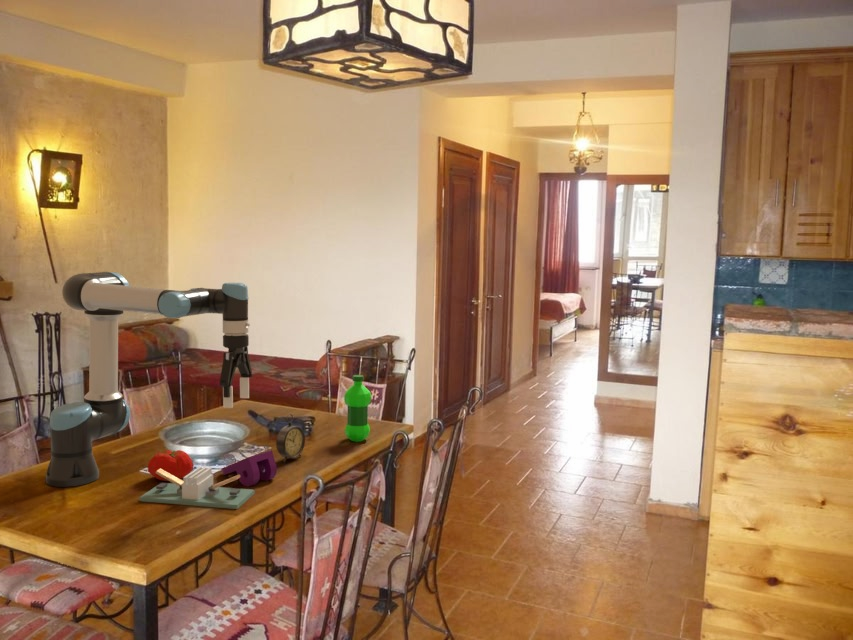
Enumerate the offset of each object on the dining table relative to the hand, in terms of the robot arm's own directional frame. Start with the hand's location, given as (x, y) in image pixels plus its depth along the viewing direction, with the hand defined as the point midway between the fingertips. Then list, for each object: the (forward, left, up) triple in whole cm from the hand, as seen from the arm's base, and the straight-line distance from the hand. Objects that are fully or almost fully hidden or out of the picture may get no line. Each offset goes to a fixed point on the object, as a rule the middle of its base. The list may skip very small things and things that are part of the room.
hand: (236, 402), depth 225 cm
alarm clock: (+6, +31, -27) cm, 41 cm away
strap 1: (-16, -11, -22) cm, 29 cm away
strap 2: (+1, -11, -22) cm, 25 cm away
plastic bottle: (+23, +60, -27) cm, 70 cm away
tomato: (-24, +4, -27) cm, 36 cm away
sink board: (-8, -11, -27) cm, 30 cm away
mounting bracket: (-1, +9, -27) cm, 28 cm away
